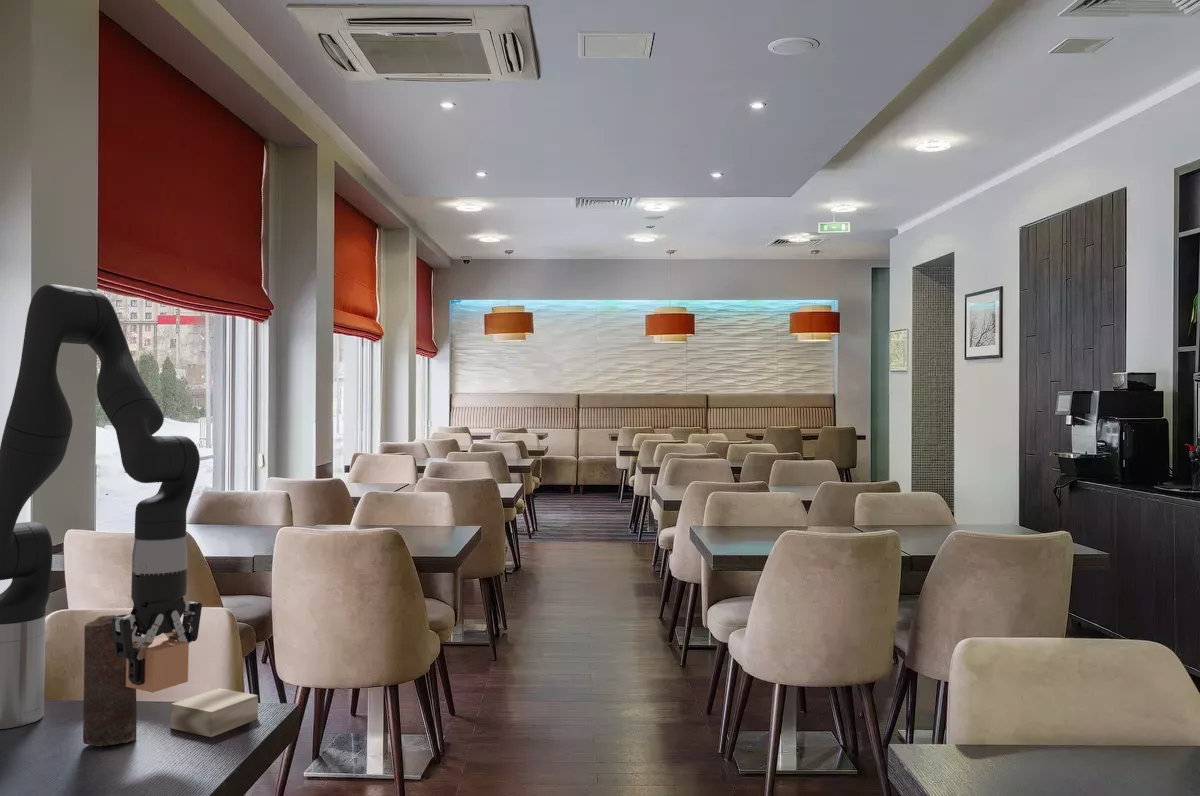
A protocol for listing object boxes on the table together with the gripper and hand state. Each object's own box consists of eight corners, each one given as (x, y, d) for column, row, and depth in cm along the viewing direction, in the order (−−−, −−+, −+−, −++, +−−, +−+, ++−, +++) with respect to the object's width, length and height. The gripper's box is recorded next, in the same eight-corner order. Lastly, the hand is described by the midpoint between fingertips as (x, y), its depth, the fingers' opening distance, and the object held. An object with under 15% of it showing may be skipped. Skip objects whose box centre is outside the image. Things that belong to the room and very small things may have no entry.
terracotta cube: (125, 686, 132) (126, 646, 132) (161, 676, 137) (161, 637, 137) (153, 692, 129) (154, 651, 129) (187, 681, 134) (188, 642, 134)
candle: (111, 755, 133) (113, 622, 133) (70, 751, 134) (72, 620, 135) (147, 737, 140) (148, 612, 141) (107, 734, 142) (109, 610, 142)
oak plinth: (170, 728, 145) (170, 703, 145) (217, 711, 153) (218, 687, 153) (211, 737, 141) (211, 712, 141) (257, 719, 149) (258, 695, 149)
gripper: (183, 558, 141) (180, 663, 141) (98, 572, 128) (96, 687, 128) (216, 562, 138) (214, 669, 138) (133, 577, 125) (130, 695, 125)
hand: (157, 677), depth 133 cm, fingers closed on terracotta cube, 6 cm apart
